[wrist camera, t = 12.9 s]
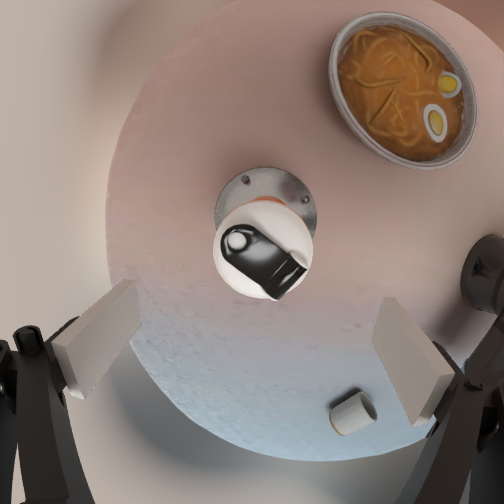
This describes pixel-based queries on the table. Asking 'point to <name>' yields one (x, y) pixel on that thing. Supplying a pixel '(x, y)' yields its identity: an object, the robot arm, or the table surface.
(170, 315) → the table surface
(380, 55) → the bowl
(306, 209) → the flange
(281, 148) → the table surface
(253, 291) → the shaker bottle
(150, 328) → the table surface
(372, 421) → the ceramic mug
